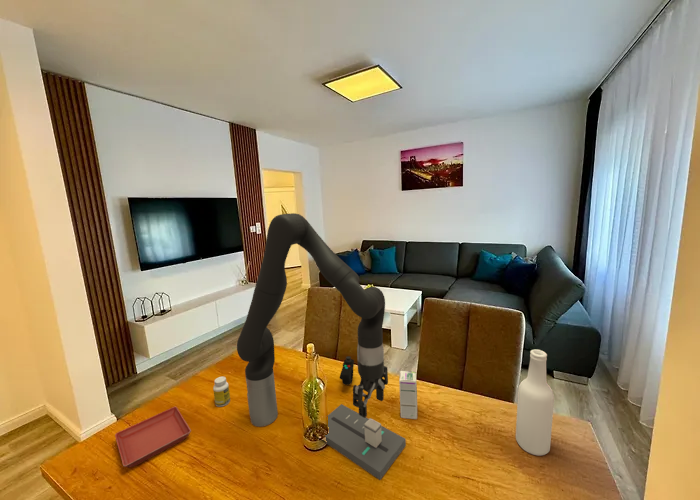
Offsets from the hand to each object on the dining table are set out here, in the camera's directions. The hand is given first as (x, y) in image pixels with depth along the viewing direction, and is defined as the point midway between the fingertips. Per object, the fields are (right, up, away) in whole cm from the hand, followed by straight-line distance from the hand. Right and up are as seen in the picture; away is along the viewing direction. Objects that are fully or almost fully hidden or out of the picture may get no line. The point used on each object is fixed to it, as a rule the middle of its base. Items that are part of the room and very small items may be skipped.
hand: (371, 407), depth 87 cm
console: (-4, -14, +6) cm, 15 cm away
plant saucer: (-71, -17, +10) cm, 74 cm away
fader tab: (+1, -11, +2) cm, 11 cm away
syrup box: (+14, -11, +17) cm, 25 cm away
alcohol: (+48, -12, +2) cm, 50 cm away
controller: (-7, -9, +35) cm, 37 cm away
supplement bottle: (-55, -13, +27) cm, 63 cm away
